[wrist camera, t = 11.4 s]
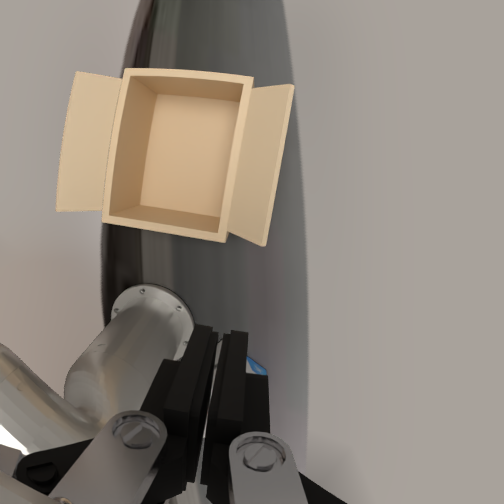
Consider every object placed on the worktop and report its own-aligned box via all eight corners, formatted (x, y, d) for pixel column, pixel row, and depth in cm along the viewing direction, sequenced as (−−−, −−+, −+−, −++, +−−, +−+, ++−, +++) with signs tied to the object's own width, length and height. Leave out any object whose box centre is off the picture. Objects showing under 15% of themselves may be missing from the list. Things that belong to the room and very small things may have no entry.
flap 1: (101, 210, 30) (100, 209, 30) (122, 78, 26) (120, 79, 27) (56, 211, 26) (55, 210, 26) (76, 71, 23) (75, 72, 23)
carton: (233, 224, 40) (225, 242, 30) (136, 209, 40) (101, 222, 30) (255, 99, 36) (253, 77, 26) (154, 89, 36) (125, 68, 26)
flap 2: (251, 88, 26) (255, 90, 27) (226, 230, 30) (231, 230, 30) (290, 83, 23) (294, 85, 23) (261, 246, 26) (265, 246, 27)
